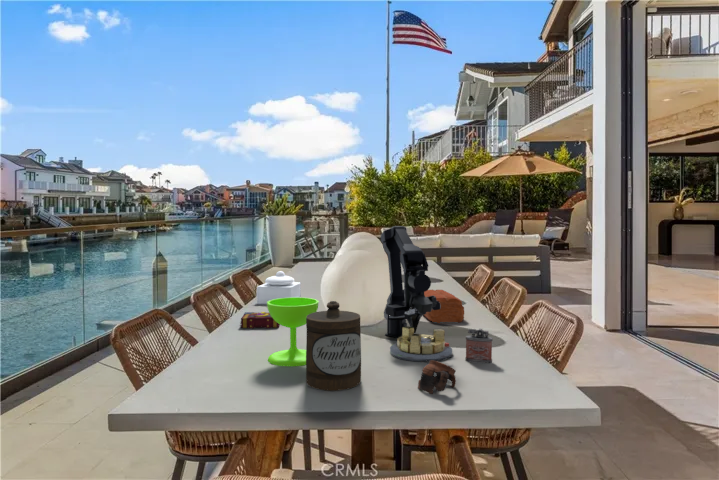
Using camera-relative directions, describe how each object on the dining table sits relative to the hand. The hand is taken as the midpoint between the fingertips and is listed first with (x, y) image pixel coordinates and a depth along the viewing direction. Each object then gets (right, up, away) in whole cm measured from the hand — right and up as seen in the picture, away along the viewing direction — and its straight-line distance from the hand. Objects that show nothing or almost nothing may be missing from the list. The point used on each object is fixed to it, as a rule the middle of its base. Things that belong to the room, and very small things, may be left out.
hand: (414, 332), depth 174 cm
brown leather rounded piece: (+2, -8, -40) cm, 41 cm away
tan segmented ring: (+3, -4, -6) cm, 7 cm away
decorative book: (-58, -4, +35) cm, 68 cm away
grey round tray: (+2, -6, -6) cm, 8 cm away
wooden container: (-25, -7, -34) cm, 43 cm away
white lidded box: (-59, 0, +90) cm, 107 cm away
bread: (+17, -3, +52) cm, 55 cm away
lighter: (+18, -6, -15) cm, 24 cm away
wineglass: (-39, -6, -12) cm, 41 cm away
